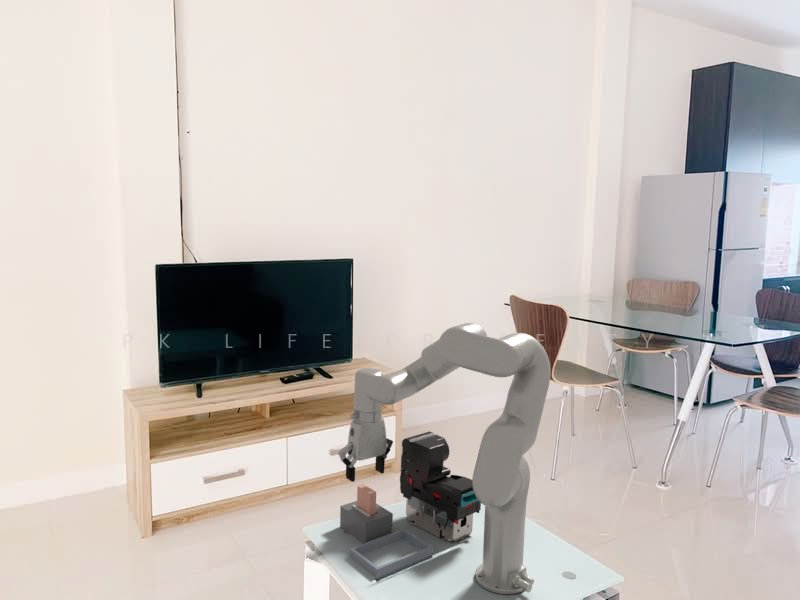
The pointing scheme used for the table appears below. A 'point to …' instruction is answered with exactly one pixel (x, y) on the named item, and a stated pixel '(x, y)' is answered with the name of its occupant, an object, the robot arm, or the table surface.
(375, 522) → the dispenser
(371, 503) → the salmon pink rectangular block
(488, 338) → the robot arm
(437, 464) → the bill acceptor
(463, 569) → the table surface
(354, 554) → the tray
